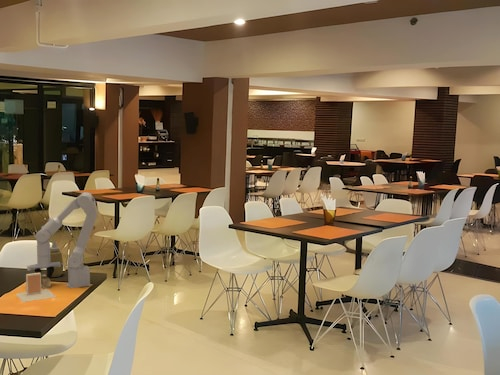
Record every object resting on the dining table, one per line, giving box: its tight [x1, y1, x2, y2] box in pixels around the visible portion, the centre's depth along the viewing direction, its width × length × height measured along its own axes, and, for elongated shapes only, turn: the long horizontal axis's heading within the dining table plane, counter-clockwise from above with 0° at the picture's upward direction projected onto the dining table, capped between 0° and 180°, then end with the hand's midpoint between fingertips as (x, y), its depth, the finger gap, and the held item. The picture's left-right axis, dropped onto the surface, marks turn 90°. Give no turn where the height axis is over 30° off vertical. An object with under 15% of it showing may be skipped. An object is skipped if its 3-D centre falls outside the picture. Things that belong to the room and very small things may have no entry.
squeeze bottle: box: [45, 239, 64, 278], centre depth 277 cm, size 8×8×18 cm
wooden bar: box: [41, 274, 52, 290], centre depth 260 cm, size 3×10×4 cm, turn 34°
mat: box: [15, 288, 57, 303], centre depth 246 cm, size 14×14×1 cm
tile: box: [25, 272, 42, 295], centre depth 247 cm, size 6×2×9 cm, turn 124°
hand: (44, 283), depth 260 cm, fingers closed on wooden bar, 3 cm apart
